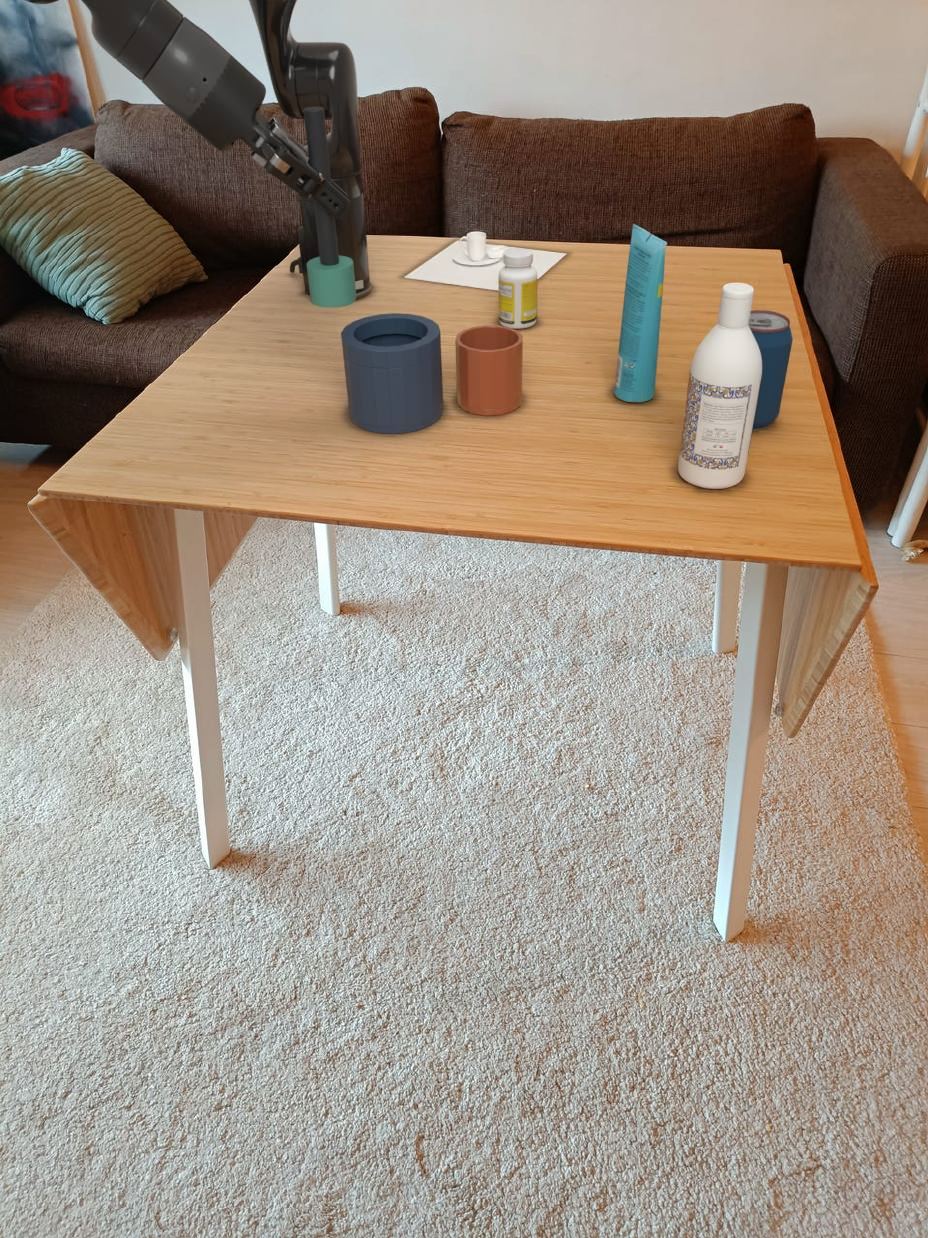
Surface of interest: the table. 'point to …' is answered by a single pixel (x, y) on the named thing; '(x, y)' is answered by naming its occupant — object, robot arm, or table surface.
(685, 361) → the table surface
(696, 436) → the bath foam
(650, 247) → the tube
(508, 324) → the supplement bottle
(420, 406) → the jar
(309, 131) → the sponge wand
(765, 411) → the soda can
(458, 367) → the crock
